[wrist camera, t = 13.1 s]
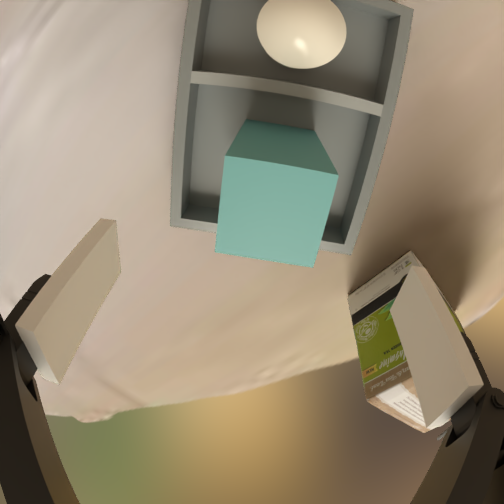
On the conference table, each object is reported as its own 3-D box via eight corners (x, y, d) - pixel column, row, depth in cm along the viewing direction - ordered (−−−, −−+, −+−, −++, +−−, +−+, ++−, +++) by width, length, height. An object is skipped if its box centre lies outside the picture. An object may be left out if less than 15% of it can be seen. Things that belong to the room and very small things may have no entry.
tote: (181, 207, 32) (170, 226, 29) (205, -20, 20) (194, -32, 16) (344, 234, 33) (351, 255, 29) (396, 15, 20) (413, 9, 17)
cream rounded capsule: (257, 62, 23) (250, 60, 17) (266, 3, 20) (263, -17, 14) (323, 74, 23) (338, 76, 17) (334, 16, 20) (352, 0, 14)
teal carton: (237, 181, 29) (214, 252, 19) (246, 119, 26) (224, 155, 16) (301, 192, 29) (312, 267, 19) (314, 130, 26) (338, 175, 16)
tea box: (343, 296, 37) (362, 403, 25) (410, 246, 33) (462, 346, 20) (400, 349, 42) (423, 437, 30) (456, 312, 38) (495, 397, 25)
